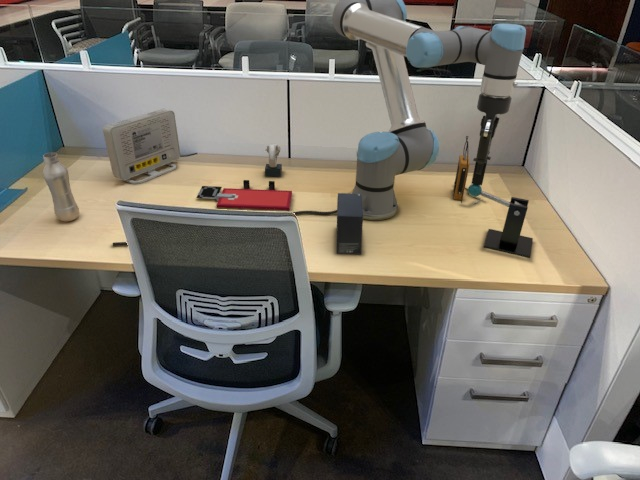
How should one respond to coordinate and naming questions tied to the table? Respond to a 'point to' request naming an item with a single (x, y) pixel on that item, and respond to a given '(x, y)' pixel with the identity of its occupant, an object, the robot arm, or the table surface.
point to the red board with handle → (248, 197)
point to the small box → (349, 223)
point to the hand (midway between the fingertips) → (476, 183)
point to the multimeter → (462, 176)
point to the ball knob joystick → (488, 195)
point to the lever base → (511, 232)
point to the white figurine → (273, 161)
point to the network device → (142, 145)
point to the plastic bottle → (59, 188)
